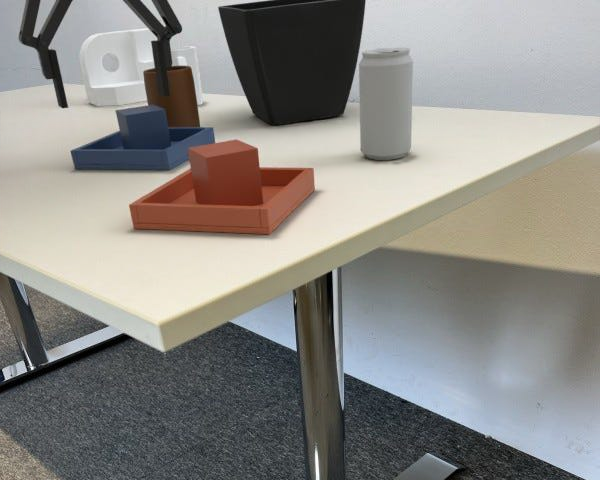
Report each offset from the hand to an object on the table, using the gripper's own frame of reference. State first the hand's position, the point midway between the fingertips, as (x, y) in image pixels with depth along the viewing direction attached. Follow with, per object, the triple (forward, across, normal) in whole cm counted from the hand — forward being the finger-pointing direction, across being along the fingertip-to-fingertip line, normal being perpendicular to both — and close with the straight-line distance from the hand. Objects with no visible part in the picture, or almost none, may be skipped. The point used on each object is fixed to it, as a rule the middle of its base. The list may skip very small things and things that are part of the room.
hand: (115, 101), depth 87 cm
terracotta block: (+7, +3, -31) cm, 32 cm away
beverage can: (+7, +28, -23) cm, 37 cm away
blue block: (+7, +3, 0) cm, 8 cm away
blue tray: (+8, +3, 0) cm, 8 cm away
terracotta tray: (+7, +3, -31) cm, 32 cm away
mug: (+8, +12, +14) cm, 20 cm away
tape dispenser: (+8, +16, +57) cm, 60 cm away
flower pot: (+7, +32, +11) cm, 35 cm away
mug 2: (+8, +22, +38) cm, 45 cm away
